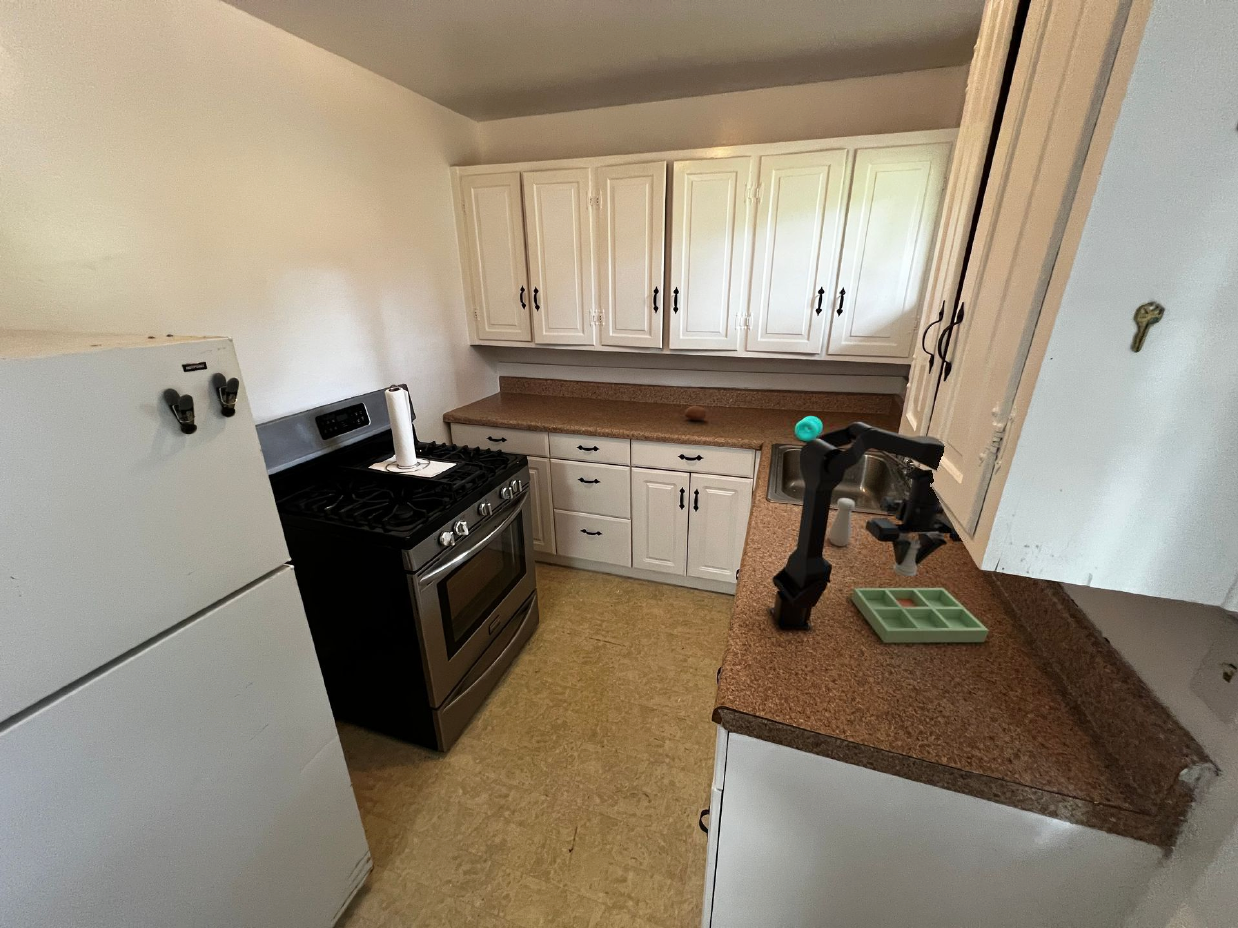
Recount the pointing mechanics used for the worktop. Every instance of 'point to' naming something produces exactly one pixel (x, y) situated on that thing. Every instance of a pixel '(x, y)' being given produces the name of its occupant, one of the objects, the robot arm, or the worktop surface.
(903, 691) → the worktop surface
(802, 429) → the cyan rounded blob
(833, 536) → the salt shaker
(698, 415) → the potato
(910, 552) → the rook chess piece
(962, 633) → the grid
